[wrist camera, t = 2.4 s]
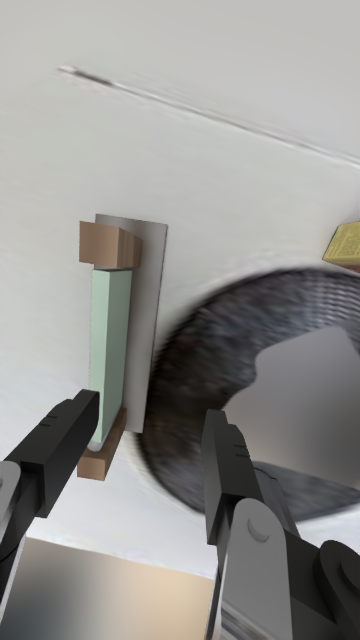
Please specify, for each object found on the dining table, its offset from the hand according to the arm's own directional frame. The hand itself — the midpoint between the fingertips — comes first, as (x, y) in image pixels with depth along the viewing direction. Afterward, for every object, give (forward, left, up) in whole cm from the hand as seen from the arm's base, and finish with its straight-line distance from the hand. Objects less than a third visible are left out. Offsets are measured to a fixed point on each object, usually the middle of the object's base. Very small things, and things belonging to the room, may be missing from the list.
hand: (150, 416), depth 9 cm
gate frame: (+6, +4, -17) cm, 19 cm away
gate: (+7, +4, -16) cm, 18 cm away
